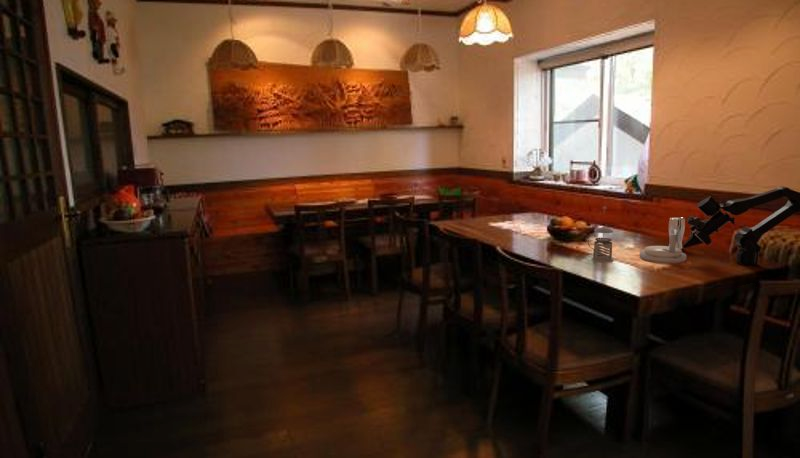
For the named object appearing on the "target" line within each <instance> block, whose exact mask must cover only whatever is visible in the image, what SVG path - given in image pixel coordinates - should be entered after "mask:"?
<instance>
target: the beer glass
mask: <svg viewBox="0 0 800 458" xmlns="http://www.w3.org/2000/svg"><path fill="white" fill-rule="evenodd" d="M668 220H669V221H668V234H669V238H670V234H675V235H676V245H675V248H679V249H681V250H682V249H683V244H682V243H683V237H684V235H685V234H684V233H685V228H686V218H685V217H678V216H677V217H676V216H675V217H674V216H673V217H669V219H668Z"/></svg>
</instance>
